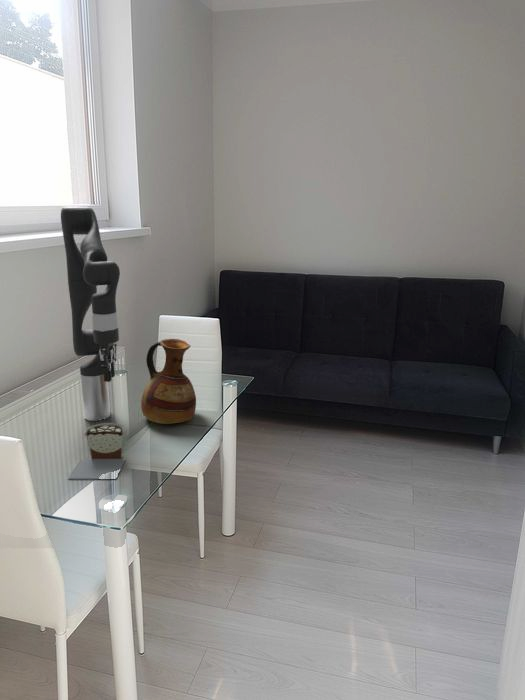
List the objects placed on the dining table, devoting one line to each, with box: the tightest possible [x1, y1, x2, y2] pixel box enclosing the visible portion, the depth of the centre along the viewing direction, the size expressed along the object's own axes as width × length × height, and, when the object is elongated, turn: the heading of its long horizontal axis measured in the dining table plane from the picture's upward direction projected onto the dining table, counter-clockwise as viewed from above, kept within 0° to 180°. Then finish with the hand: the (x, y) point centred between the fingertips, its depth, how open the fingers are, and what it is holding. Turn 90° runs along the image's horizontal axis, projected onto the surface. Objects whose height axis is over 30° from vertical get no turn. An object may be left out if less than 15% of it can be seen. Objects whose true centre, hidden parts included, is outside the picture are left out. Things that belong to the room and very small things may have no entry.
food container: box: [84, 422, 126, 460], centre depth 166 cm, size 12×6×10 cm, turn 92°
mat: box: [68, 459, 126, 481], centre depth 158 cm, size 11×14×1 cm
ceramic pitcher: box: [140, 338, 197, 425], centre depth 190 cm, size 20×20×30 cm
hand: (109, 378), depth 167 cm, fingers open, 3 cm apart
